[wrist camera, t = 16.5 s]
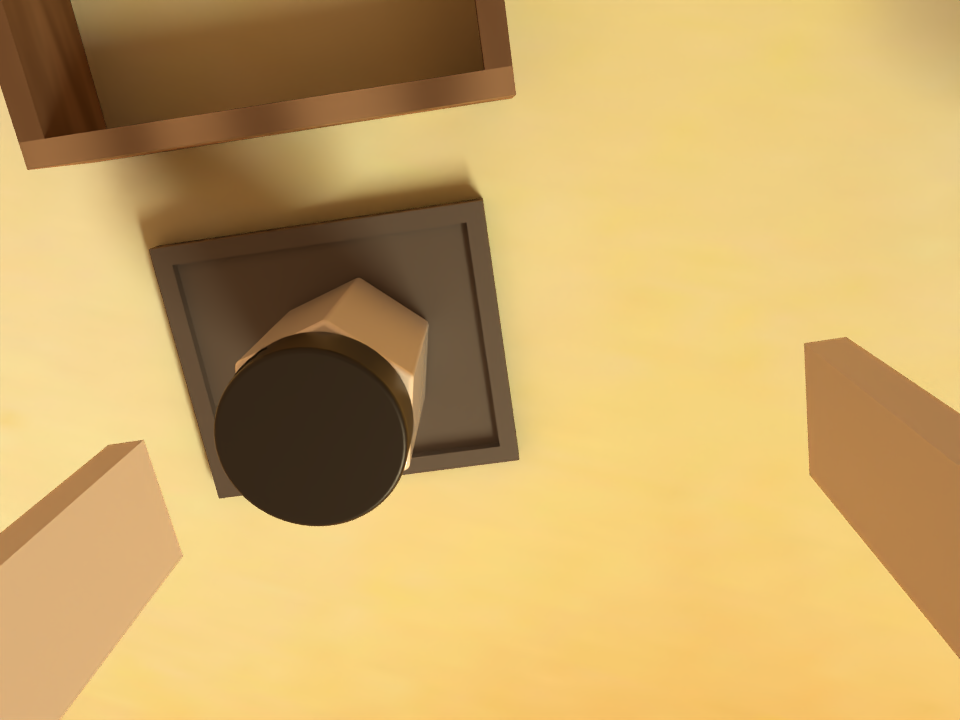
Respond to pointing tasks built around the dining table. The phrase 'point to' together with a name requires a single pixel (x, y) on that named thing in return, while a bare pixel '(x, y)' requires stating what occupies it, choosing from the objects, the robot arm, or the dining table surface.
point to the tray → (327, 265)
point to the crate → (85, 139)
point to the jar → (326, 407)
